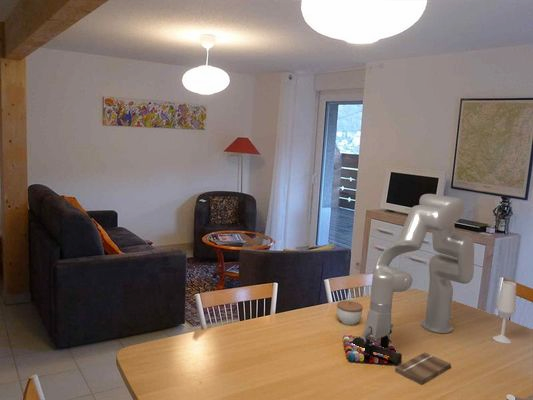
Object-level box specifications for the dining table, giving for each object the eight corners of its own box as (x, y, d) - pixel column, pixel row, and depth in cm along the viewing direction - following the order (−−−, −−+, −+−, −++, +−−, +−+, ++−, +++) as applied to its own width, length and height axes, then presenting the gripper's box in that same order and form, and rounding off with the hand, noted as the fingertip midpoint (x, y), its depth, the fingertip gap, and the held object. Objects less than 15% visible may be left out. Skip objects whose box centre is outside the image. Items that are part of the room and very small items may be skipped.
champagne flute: (496, 334, 190) (503, 279, 187) (513, 340, 185) (521, 283, 182) (490, 338, 185) (497, 282, 182) (507, 344, 181) (515, 286, 177)
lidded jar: (366, 323, 194) (368, 302, 192) (350, 329, 187) (352, 307, 185) (346, 315, 202) (348, 295, 200) (330, 320, 195) (332, 299, 193)
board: (424, 356, 167) (425, 352, 167) (450, 367, 160) (451, 363, 159) (394, 371, 155) (395, 367, 154) (421, 384, 147) (422, 380, 147)
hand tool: (402, 363, 161) (403, 350, 161) (397, 367, 158) (398, 354, 158) (355, 345, 174) (356, 333, 173) (349, 348, 171) (350, 336, 170)
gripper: (386, 298, 172) (381, 341, 174) (357, 307, 160) (353, 353, 163) (403, 304, 166) (398, 348, 168) (374, 314, 155) (370, 362, 157)
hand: (376, 351), depth 166 cm, fingers open, 9 cm apart
